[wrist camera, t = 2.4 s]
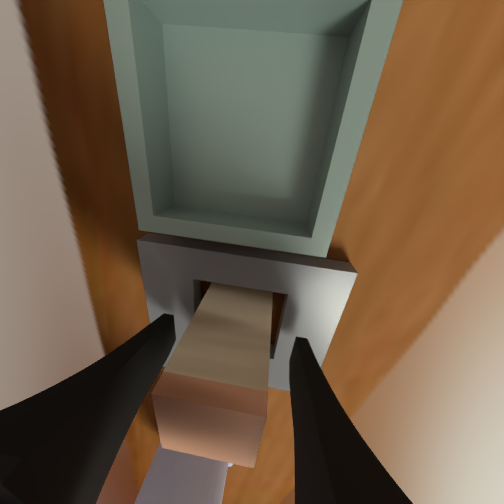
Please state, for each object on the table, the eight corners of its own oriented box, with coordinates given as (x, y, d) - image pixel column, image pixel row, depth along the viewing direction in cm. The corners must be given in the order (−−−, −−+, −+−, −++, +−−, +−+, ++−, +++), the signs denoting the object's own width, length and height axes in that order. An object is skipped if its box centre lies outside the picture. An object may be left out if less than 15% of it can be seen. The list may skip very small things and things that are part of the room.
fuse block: (264, 334, 15) (253, 468, 8) (211, 325, 15) (162, 447, 9) (273, 290, 13) (266, 417, 7) (212, 280, 13) (151, 393, 7)
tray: (316, 237, 11) (325, 257, 9) (166, 216, 12) (138, 230, 9) (374, 16, 7) (417, -50, 5) (147, 1, 8) (93, -63, 6)
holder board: (307, 379, 16) (309, 395, 15) (164, 352, 17) (157, 365, 16) (350, 262, 11) (357, 273, 10) (149, 232, 12) (136, 239, 11)
